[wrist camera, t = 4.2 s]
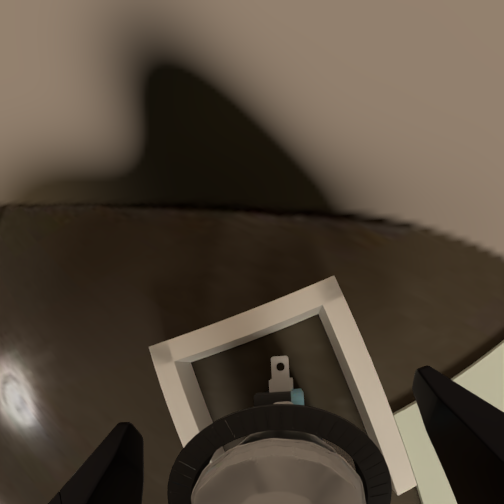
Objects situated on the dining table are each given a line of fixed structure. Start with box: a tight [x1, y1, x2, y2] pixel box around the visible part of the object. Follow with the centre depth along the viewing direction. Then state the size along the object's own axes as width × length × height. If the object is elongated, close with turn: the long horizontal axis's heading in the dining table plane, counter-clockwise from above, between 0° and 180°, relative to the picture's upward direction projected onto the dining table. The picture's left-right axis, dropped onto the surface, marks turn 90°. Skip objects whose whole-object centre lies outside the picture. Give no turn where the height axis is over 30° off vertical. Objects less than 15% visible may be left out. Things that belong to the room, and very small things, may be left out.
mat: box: [392, 340, 504, 504], centre depth 11 cm, size 10×10×1 cm
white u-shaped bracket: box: [149, 276, 417, 495], centre depth 13 cm, size 9×11×2 cm
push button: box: [168, 356, 392, 504], centre depth 9 cm, size 7×5×10 cm
